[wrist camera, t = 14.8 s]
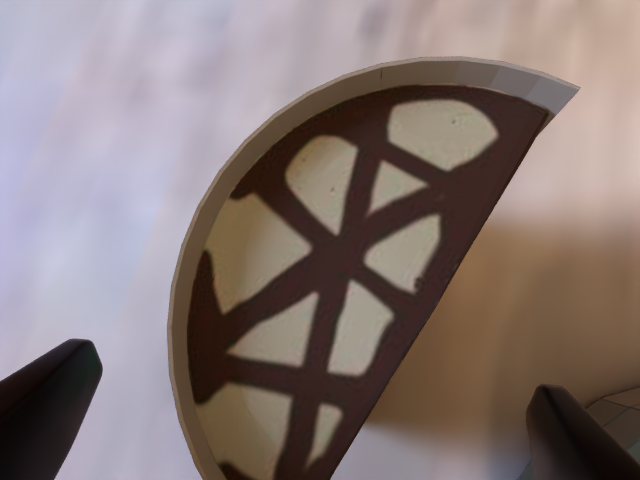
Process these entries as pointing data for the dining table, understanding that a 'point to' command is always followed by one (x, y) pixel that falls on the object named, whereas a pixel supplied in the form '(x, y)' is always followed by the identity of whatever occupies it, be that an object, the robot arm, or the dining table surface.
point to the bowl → (613, 423)
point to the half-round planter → (337, 254)
